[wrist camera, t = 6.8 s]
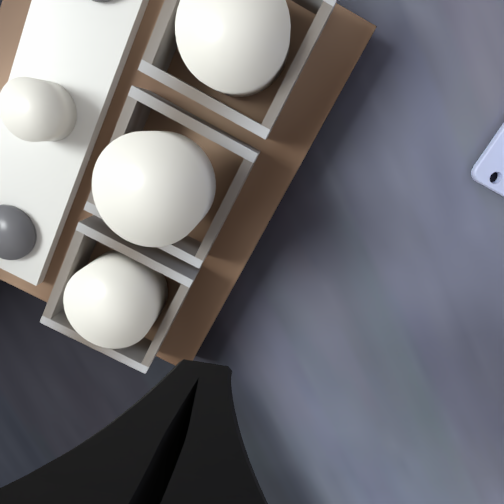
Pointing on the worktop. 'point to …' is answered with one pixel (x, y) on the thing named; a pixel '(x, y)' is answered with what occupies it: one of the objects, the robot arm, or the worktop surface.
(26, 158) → the strip
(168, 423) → the robot arm
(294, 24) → the console
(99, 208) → the button mid
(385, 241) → the worktop surface
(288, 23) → the button near
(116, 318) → the button far
